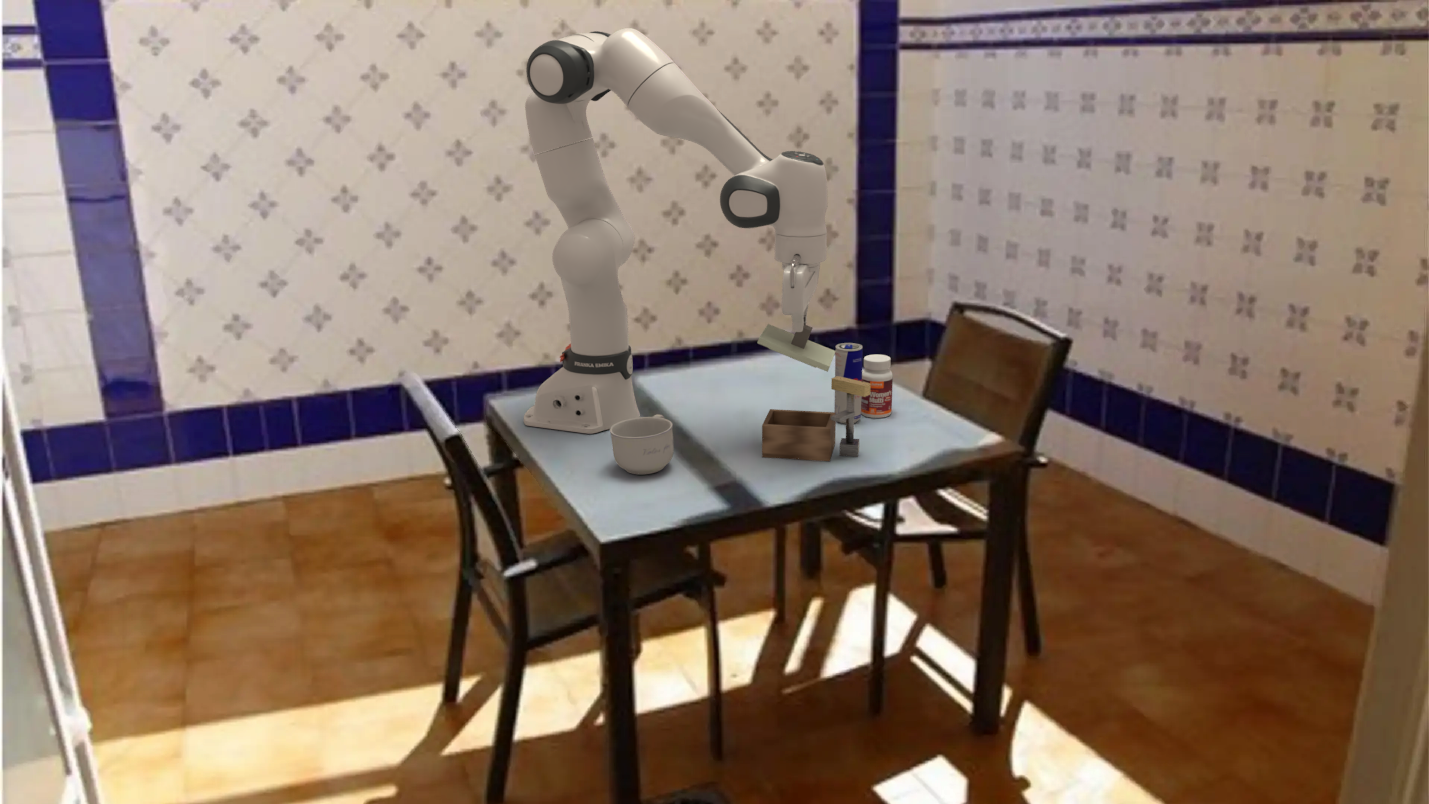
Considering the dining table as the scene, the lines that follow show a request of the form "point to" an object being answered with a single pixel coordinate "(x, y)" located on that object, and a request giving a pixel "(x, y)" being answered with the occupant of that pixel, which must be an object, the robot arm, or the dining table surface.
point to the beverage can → (848, 374)
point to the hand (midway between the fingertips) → (799, 328)
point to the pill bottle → (877, 386)
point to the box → (798, 435)
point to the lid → (797, 346)
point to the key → (849, 401)
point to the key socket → (849, 448)
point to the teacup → (642, 444)
